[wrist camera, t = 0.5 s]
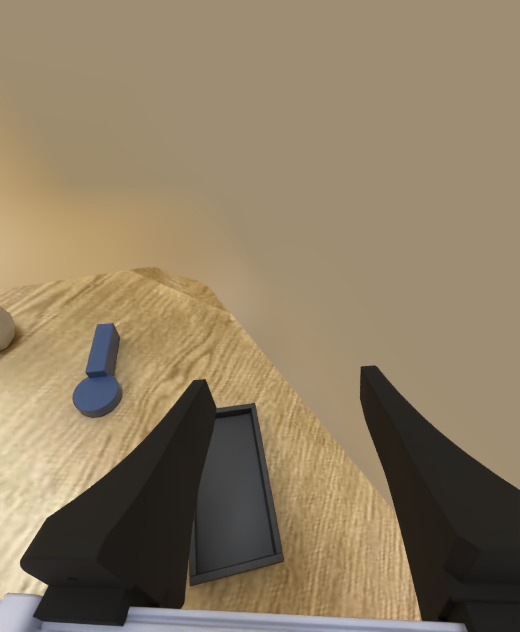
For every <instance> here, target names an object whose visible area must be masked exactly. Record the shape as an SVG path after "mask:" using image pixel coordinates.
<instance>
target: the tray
mask: <svg viewBox="0 0 520 632" xmlns="http://www.w3.org/2000/svg"><path fill="white" fill-rule="evenodd" d="M283 561H284V557H283V553H282V546H281V541H280V535H279V530H278V525H277V519H276V514H275V508H274V503H273V497H272V492H271V487H270V481H269V476H268V470H267V465H266V459H265V454H264V449H263V443H262V438H261V432H260V427H259V422H258V416H257V411H256V405H255V403H252V404H244V405H237V406H230V407H223V408H216V416H215V423H214V429H213V434H212V437H211V441H210V445H209V449H208V453H207V457H206V460H205V464H204V468H203V472H202V475H201V480H200V484H199V490H198V496H197V502H196V508H195V514H194V521H193V528H192V535H191V543H190V552H189V576H190V578H189V580H190V586H193V585H197V584H201V583H204V582H208V581H212V580H216V579H219V578H223V577H227V576H231V575H234V574H238V573H242V572H246V571H249V570H253V569H257V568H261V567H264V566H268V565H272V564H276V563H279V562H283Z"/></svg>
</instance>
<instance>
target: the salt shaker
mask: <svg viewBox="0 0 520 632" xmlns="http://www.w3.org/2000/svg"><path fill="white" fill-rule="evenodd" d="M15 336H16V334H15V325H14V321H13V319H12V316H11V315H10V313H8V312H7V311H6V310H4V309H3V308H1V307H0V350H3V349H5V348H7V347H8V345H9V344H10V343H11V341H12V340H13V338H14V337H15Z"/></svg>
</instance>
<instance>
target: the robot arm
mask: <svg viewBox="0 0 520 632" xmlns="http://www.w3.org/2000/svg"><path fill="white" fill-rule="evenodd" d="M360 377H361V378H360V400H361V405H362V408H363V413H364V416H365V420H366V423H367V426H368V429H369V432H370V434H371V437H372V440H373V443H374V445H375V448H376V451H377V453H378V456H379V459H380V461H381V464H382V467H383V470H384V472H385V475H386V479H387V482H388V485H389V489H390V492H391V496H392V500H393V503H394V507H395V511H396V515H397V519H398V522H399V526H400V530H401V534H402V538H403V542H404V546H405V550H406V554H407V558H408V562H409V566H410V570H411V575H412V579H413V583H414V587H415V592H416V596H417V600H418V605H419V609H420V613H421V618H422V621H409V620H389V619H369V618H349V617H329V616H309V615H289V614H269V613H249V612H229V611H209V610H189V609H181V608H182V606H183V605H184V601H185V590H186V579H187V569H188V560H189V552H190V543H191V535H192V528H193V521H194V514H195V508H196V502H197V496H198V490H199V484H200V480H201V475H202V472H203V468H204V464H205V460H206V457H207V453H208V449H209V445H210V441H211V437H212V434H213V429H214V423H215V416H216V405H215V403H214V400H213V397H212V395H211V392H210V390H209V387H208V384H207V382H206V379H203V380H193V382H192V383H191V384H190V385H189V387H188V388H187V389H186V390H185V392H184V393H183V394H182V396H181V397H180V398H179V399H178V401H177V402H176V403H175V404H174V406H173V407H172V408H171V409H170V411H169V412H168V413H167V414H166V416H165V417H164V418H163V419H162V420H161V421H160V423H159V424H158V425H157V426H156V427H155V428H154V429H153V430H152V432H151V433H150V434H149V435H148V436H147V437H146V438H145V439H144V440H143V441H142V442H141V443H140V444H139V445H138V446H137V447H136V448H135V449H134V450H133V451H132V452H131V453H130V454H129V455H128V456H127V457H126V458H125V459H123V460H122V461H121V462H120V463H119V464H118V465H117V466H115V467H114V468H113V469H112V470H111V471H110V472H109V473H108V474H106V475H105V476H104V477H103V478H101V479H100V480H99V481H98V482H96V483H95V484H94V485H93V486H91V487H90V488H89V489H87V490H86V491H85V492H83V493H82V494H81V495H79V496H78V497H77V498H75V499H74V500H73V501H71V502H70V503H68V504H67V505H65V506H64V507H62V508H61V509H60V510H58V511H57V512H55V513H54V514H52V515H51V516H49V517H48V518H47V519H46V520H45V522H44V523H43V525H42V527H41V528H40V530H39V531H38V533H37V534H36V536H35V538H34V539H33V541H32V542H31V544H30V546H29V547H28V549H27V550H26V552H25V554H24V555H23V557H22V558H21V560H20V566H21V568H22V569H23V570H24V571H25V572H27V573H28V574H30V575H32V576H33V577H35V578H37V579H39V580H40V581H42V582H44V583H45V584H47V585H49V586H48V588H47V590H46V592H45V594H44V596H40V595H35V594H20V593H7V594H5V595H4V596H3V598H2V599H1V601H0V632H520V490H519V489H517V488H516V487H514V486H513V485H511V484H510V483H508V482H507V481H505V480H504V479H502V478H500V477H499V476H498V475H496V474H495V473H493V472H492V471H490V470H489V469H488V468H486V467H485V466H484V465H482V464H481V463H479V462H478V461H477V460H475V459H474V458H472V457H471V456H470V455H468V454H467V453H466V452H464V451H463V450H462V449H461V448H459V447H458V446H457V445H455V444H454V443H453V442H452V441H450V440H449V439H448V438H447V437H445V436H444V435H443V434H442V433H441V432H439V431H438V430H437V429H436V428H435V427H434V426H433V425H432V424H431V423H429V422H428V421H427V420H426V419H425V418H424V417H423V416H422V415H421V414H420V413H419V412H418V411H417V410H416V409H415V408H414V407H413V406H412V405H411V404H410V403H409V402H408V401H407V400H406V399H405V398H404V397H403V396H402V395H401V394H400V393H399V392H398V391H397V390H396V388H395V387H394V386H393V385H392V384H391V383H390V382H389V381H388V379H387V378H386V377H385V376H384V375H383V373H382V372H381V371H380V370H379V368H378V367H377V366H362V367H361V376H360Z"/></svg>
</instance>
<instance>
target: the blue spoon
mask: <svg viewBox="0 0 520 632" xmlns="http://www.w3.org/2000/svg"><path fill="white" fill-rule="evenodd" d="M119 339H120V336H119V334H118V332H117V330H116V328H115V326H114V324H113V323H111V324H98V325H97V327H96V331H95V335H94V339H93V343H92V347H91V351H90V355H89V360H88V364H87V368H86V372H85V373H86V374H87V375H88V377H87V378H86V379H84V380H83V381H82V382H80V383H79V385H78V386H77V387H76V389H75V391H74V393H73V403H74V405H75V406H76V408H77V409H78V410H79V411H80V412H81V413H83V414H84V415H86V416H88V417H99V416H103V415H105V414H107V413H109V412H111V411H112V410H113V409H114V408H115V407H116V406H117V405H118V403H119V402H120V400H121V396H122V389H121V387H120V385H119V383H118V382H117V380H116V379H115V378H114V377H113V375H114V369H115V363H116V357H117V351H118V345H119Z"/></svg>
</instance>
